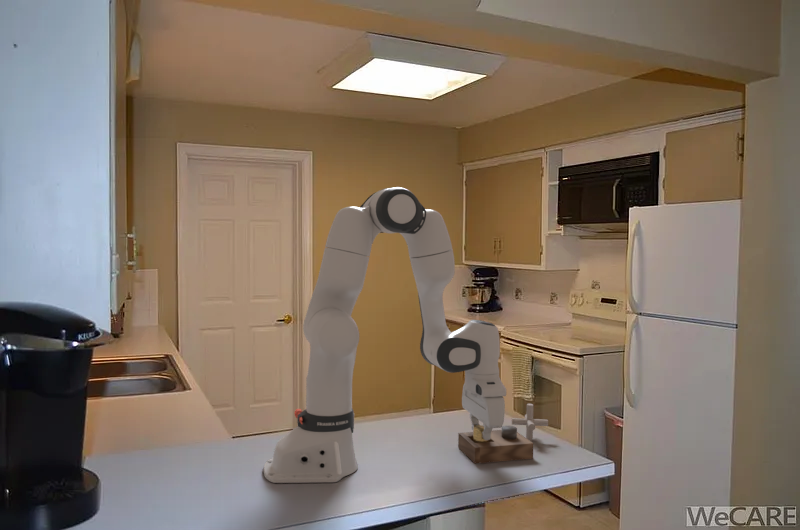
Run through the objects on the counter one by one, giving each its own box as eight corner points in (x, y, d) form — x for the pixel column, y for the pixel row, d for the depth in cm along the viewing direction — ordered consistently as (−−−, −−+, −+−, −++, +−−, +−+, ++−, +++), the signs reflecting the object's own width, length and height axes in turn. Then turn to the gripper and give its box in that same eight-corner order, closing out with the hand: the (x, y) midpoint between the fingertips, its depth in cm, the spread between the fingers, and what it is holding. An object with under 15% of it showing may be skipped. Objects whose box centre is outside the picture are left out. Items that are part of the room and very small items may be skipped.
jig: (474, 463, 151) (475, 438, 151) (458, 447, 162) (458, 424, 162) (533, 458, 155) (533, 434, 155) (512, 443, 166) (513, 420, 166)
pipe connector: (544, 434, 174) (545, 400, 174) (550, 446, 164) (550, 410, 164) (509, 433, 175) (510, 399, 175) (512, 444, 165) (513, 408, 165)
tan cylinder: (476, 457, 155) (476, 430, 155) (470, 452, 159) (471, 425, 159) (490, 456, 156) (491, 429, 156) (484, 451, 160) (485, 424, 160)
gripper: (456, 374, 166) (455, 423, 167) (485, 392, 146) (484, 448, 147) (478, 373, 168) (477, 422, 168) (509, 391, 148) (508, 446, 148)
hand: (480, 434), depth 157 cm, fingers open, 6 cm apart
